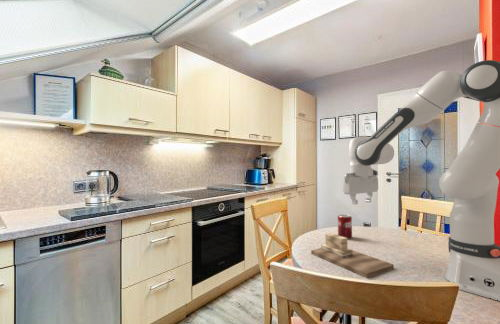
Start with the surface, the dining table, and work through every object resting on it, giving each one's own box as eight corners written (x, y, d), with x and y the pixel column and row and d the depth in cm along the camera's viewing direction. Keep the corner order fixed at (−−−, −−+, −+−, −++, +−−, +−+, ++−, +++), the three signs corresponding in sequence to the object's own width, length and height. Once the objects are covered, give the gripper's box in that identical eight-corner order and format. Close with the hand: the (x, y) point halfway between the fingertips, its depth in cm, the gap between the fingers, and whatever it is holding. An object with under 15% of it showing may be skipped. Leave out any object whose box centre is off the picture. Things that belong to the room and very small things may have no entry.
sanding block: (352, 254, 105) (352, 238, 105) (342, 257, 102) (342, 240, 102) (330, 247, 115) (330, 232, 115) (321, 249, 112) (321, 233, 112)
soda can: (354, 237, 135) (353, 215, 135) (349, 240, 130) (348, 217, 130) (341, 235, 140) (340, 214, 140) (335, 237, 135) (335, 216, 135)
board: (393, 268, 94) (393, 264, 94) (366, 278, 86) (366, 273, 86) (336, 247, 119) (336, 244, 119) (311, 253, 111) (311, 250, 111)
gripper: (350, 173, 103) (352, 206, 102) (380, 171, 113) (382, 201, 112) (338, 173, 108) (340, 204, 107) (367, 172, 118) (369, 200, 118)
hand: (361, 203), depth 110 cm, fingers open, 8 cm apart
